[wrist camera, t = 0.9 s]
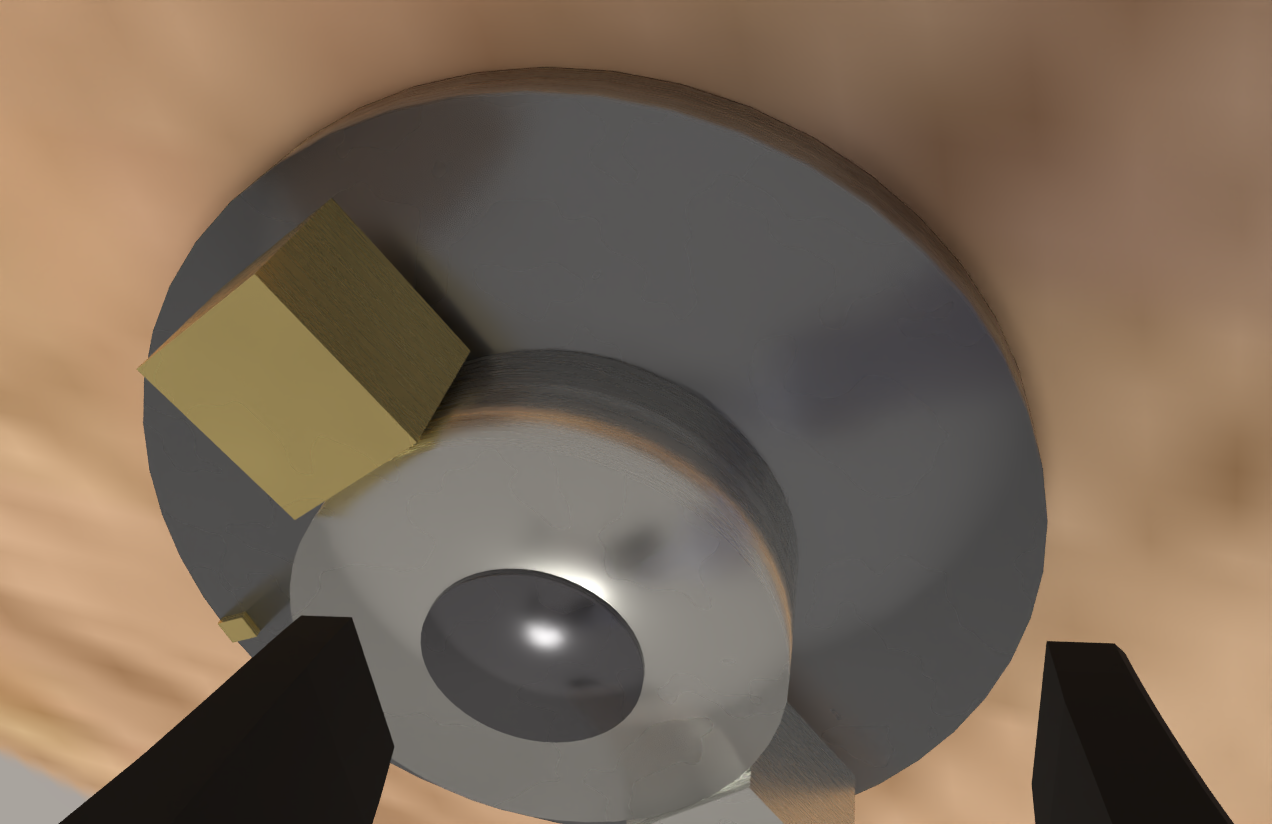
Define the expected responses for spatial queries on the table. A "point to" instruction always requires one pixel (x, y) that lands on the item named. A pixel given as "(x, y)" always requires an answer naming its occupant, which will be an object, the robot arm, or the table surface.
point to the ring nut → (517, 546)
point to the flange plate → (681, 361)
